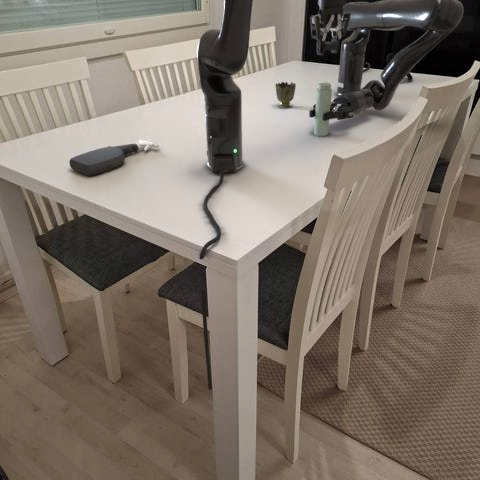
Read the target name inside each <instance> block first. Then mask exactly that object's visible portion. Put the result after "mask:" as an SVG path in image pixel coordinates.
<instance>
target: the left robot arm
mask: <svg viewBox="0 0 480 480" xmlns="http://www.w3.org/2000/svg"><path fill="white" fill-rule="evenodd" d="M253 3H254V0H223V13H222V14H223V15H222V21H221V28H220V29H217V28H214V29H213V28H212V29H208V30H206V31H205V32H203V34H201V36H200V38H199V39H198V42H197V49H196V57H197V59H196V60H197V69H198V78H199V85H200V89H201V92H202V94H203V99H204V100H203V101H204V116H205V117H204V118H205V133H206V134H205V135H206V157H207V168H208V169H209V170H211V172H212V173H219V180H218V182H217V183H216V185H214V186H212V188H211V189H210V190H209V192H208V193H207V194H206V195H205V198H204V199H203V209H204V211H205V213H206V215H207V216H208V218H209V221H210V222H211V224H212V225H213V227H214V228H215V230H216V236H215V237H214V238H212V239H210V240H208V241H207V242H206V243H205V244H204V245H203V246H202V248H201V250H200V253H199V260H203V259H204V258H205V255H206V254H205V253H206V251H207V250H208V249H209V247H210V246H212V245H213V244H215V243H217V242H218V241H219V240H220V238H221V236H222V231H221V227H220V225H219V224H218V222H217V221H216V220H215V218H214V216H213V214H212V213H211V211H210V209H209V207H208V201H209V199H210V197H212V195H213V193H214V192H215V191H216V190H217V189H218V188H219V187H221V186H222V184H223V182H224V173H237V171H239V170H240V169H242V168H243V166H244V160H243V114H242V113H243V109H242V108H243V106H242V105H243V104H242V103H243V102H242V101H243V100H242V99H243V98H242V96H243V95H242V89H241V88H240V87H239V86H238V85H237V83H236V82H235V81H234V79H233V76H235V75H237V74H238V73H240V72H241V71H242V70H243V68H244V67H245V65H246V62H247V59H248V54H249V49H250V48H249V47H250V35H251V33H250V32H251V21H252V10H253ZM346 4H347V0H317V5H318V6H319V10H318V13H317V14H315V15H310V17H309V22H310V35H311V39H314V40H316V55H317V56H324V55H325V51H326V50H325V42H326V38H327V35H328V34H329V32H331V42H336V43H337V49H336V50H330V53H331V54H338V53H339V49H340V40H341V39H342V38H343V37H345V36H346V35H347V31H348V30H347V28H348V23H349V19H350V13H344V12H343V6H345V5H346ZM342 27H343V28H342ZM200 295H201V297H200V298H201V314H202V327H203V328H202V329H203V339H204V340H203V342H204V351H205V360H206V361H205V362H206V375H207V387H208V390H209V391H211V390H213V382H212V370H211V369H212V368H211V359H210V358H211V357H210V346H209V345H210V344H209V334H208V318H207V300H206V299H207V298H206V291H205V290H204V289H201V290H200Z"/></svg>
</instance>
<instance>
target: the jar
mask: <svg viewBox="0 0 480 480" xmlns="http://www.w3.org/2000/svg"><path fill="white" fill-rule="evenodd" d="M317 85H318V87H316V97H315V104H316V110H315V117H314V125H313V135H315V136H318V137H325V136H328V135H329V125H330V119H329V120H327V121H323V120H322V118H323V114H324V113H326V112H329V111H330V105H331V102H332V93H333V88H332V83H329V82H320V83H318V84H317Z"/></svg>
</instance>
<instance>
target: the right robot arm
mask: <svg viewBox="0 0 480 480" xmlns="http://www.w3.org/2000/svg"><path fill="white" fill-rule="evenodd" d="M343 12H344V13H350V19H349V23H348V28H347V31H353V32H352V33H351V34H350V36H348V37H347V38H345V39H343V40H342V41H341V47H340V55H339V56H340V57H339V67H338V78H337V81H336V95H337V96H335V98H334V99H333V100H332V101H331V105H330V111H329V112H326V113H324V114H323V118H322V120H323V121H327V120H329V121H330V120H337V121H342V120H346V119H347V120H348V119H352V118H354V116H357V115H359V114H360V113H363V112H365V111H367V110H369V109H371V108H373V109H374V110H375V111H382V110H385V109H386V108H387V107H388V106H389V105H390V104H391V102H392V100H393V98H394V96H395V94H396V91H397V89H398V87H399V85H400V84H401V83H402V81H403V80H405V78H406V77H407V76H406V75H407V74H408V73H410V72H411V71H412V70H413V68H414V67H415V66H416V65H417V64H418V63H419V62H420V61H421V60H422V59H423V58H424V57H425V56H427V55H428V53H429V52H431V51H432V50H433V49H435V47H436V46H438V45H439V43H440V42H442V41H443V40H444V39H445V38H446V37H448V36H449V35H450V34H451V33H452V32H453V31H454V30H455V28H457V26H458V25H459V24H460V22H461V20H462V18H463V15H464V5H463V3H462V2H461V1H460V0H378V1H374V2H369V1H354V2H353V1H352V2H348V3H347V2H346V5H345V6H343ZM405 27H415V28H416V27H417V28H421V29H424V30H426V32H424V34H423V35H422V36H421V37H419V38H418V39H416V40H415V41H413V42H412V43H410V44H409V45H408V46H406V47H404V48H402V49H401V50H400V51H398V52H397V53H396V54H394V55H395V56H394V57H393V59H392V58H391V59H390V60H391V61H390V62H389V64H388V65H386V66H385V67H384V69H383V70H382V71H381V73H380V79H381V81H382V82H380V81H379V80H376V79H373V80H369V81H368V82H367V83H366V84H365V85H364V86H363V87H362V82H363V73H364V72H366V71H369V70H370V69H371V67H372V66H371V63H370V62H368V61H366V62H365V59H366V58H365V57H366V49H367V44H368V42H369V40H370V34H371V33H370V32H371V30H376V31H386V32H387V31H394V32H395V31H399V30H402V29H404V28H405ZM342 29H343V27H342ZM364 66H368V67H366V68H364ZM315 110H316V103H315V104H313V105H312V109H310V110H309V111H308V112H309V113H308V117H309V118H315Z"/></svg>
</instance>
